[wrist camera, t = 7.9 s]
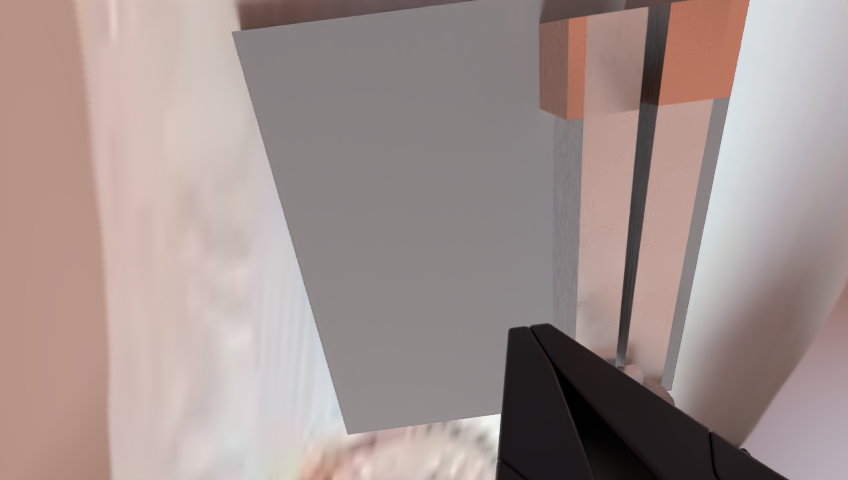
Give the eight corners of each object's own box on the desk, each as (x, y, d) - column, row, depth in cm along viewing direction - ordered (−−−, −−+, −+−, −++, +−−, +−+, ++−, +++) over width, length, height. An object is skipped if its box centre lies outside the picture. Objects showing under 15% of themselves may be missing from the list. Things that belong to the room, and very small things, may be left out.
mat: (661, 378, 26) (671, 390, 25) (349, 421, 26) (347, 434, 25) (736, -32, 16) (756, -37, 15) (240, 32, 16) (231, 31, 15)
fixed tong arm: (639, 394, 25) (668, 436, 22) (574, 403, 25) (596, 447, 22) (699, 0, 16) (763, -10, 13) (598, 14, 16) (640, 6, 13)
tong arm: (636, 392, 25) (677, 451, 21) (542, 406, 25) (567, 467, 21) (686, 2, 16) (773, -13, 12) (538, 24, 16) (581, 16, 12)
